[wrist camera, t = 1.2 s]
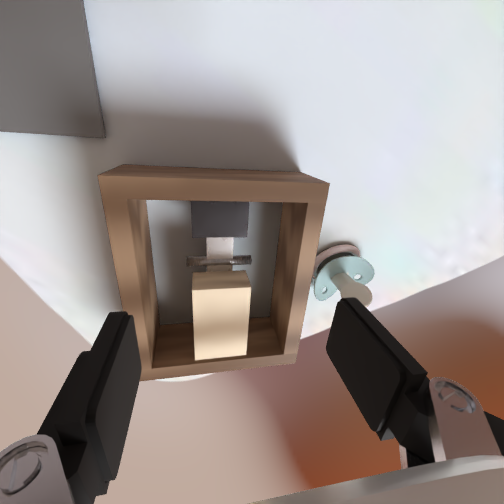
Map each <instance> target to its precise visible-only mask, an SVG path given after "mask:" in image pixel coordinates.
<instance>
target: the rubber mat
mask: <svg viewBox="0 0 504 504" xmlns="http://www.w3.org/2000/svg"><path fill="white" fill-rule="evenodd" d="M0 131H1V132H17V133H33V134H49V135H65V136H81V137H97V138H106V136H105V130H104V124H103V118H102V112H101V106H100V100H99V94H98V87H97V81H96V75H95V69H94V63H93V57H92V51H91V45H90V39H89V33H88V27H87V21H86V15H85V9H84V3H83V0H0Z"/></svg>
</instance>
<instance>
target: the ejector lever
mask: <svg viewBox="0 0 504 504" xmlns="http://www.w3.org/2000/svg"><path fill="white" fill-rule="evenodd" d="M191 213H192V238H206V248H207V256H194V257H187V266H207V272H216V271H232V265H246V264H251V262H252V259H251V255H234V256H233V237H247V231H248V215H249V202H244V201H191Z"/></svg>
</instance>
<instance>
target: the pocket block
mask: <svg viewBox="0 0 504 504" xmlns="http://www.w3.org/2000/svg"><path fill="white" fill-rule="evenodd" d="M98 180H99V186H100V191H101V196H102V202H103V207H104V212H105V217H106V223H107V228H108V233H109V239H110V244H111V249H112V255H113V260H114V265H115V271H116V276H117V281H118V286H119V292H120V297H121V302H122V308H123V311H127V313H128V315H133V317H134V323H135V329H136V335H137V341H138V347H139V353H140V359H141V366H142V370H141V377H140V381H147V380H156V379H164V378H173V377H181V376H190V375H199V374H207V373H216V372H224V371H233V370H241V369H250V368H259V367H267V366H275V365H284V364H293V363H296V357H297V352H298V347H299V342H300V337H301V331H302V326H303V321H304V316H305V310H306V305H307V300H308V295H309V290H310V284H311V279H312V274H313V269H314V263H315V258H316V253H317V248H318V242H319V237H320V232H321V227H322V222H323V216H324V211H325V206H326V201H327V195H328V190H329V185H330V183H327V182H325V181H322V180H320V179H317V178H314V177H312V176H309V175H307V174H304V173H302V172H283V171H260V170H237V169H214V168H191V167H169V166H146V165H121V166H118V167H116V168H114V169H111V170H109V171H107V172H104V173H102V174H100V175H98ZM146 200H189V201H244V202H283V205H282V214H281V222H280V231H279V239H278V248H277V256H276V265H275V273H274V282H273V290H272V299H271V307H270V316H269V317H260V318H249V324H248V338H247V351H246V355H241V356H231V357H222V358H212V359H203V360H195V348H194V325H193V323H181V324H168V325H160V318H159V310H158V301H157V292H156V283H155V275H154V266H153V257H152V248H151V240H150V231H149V222H148V214H147V205H146Z"/></svg>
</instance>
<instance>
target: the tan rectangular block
mask: <svg viewBox="0 0 504 504" xmlns="http://www.w3.org/2000/svg"><path fill="white" fill-rule="evenodd" d="M250 298H251V285H250V282H249V279H248V276H247V273H246V270H243V271H216V272H193V279H192V301H193V325H194V348H195V360H203V359H212V358H222V357H231V356H241V355H246V351H247V338H248V324H249V311H250Z"/></svg>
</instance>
